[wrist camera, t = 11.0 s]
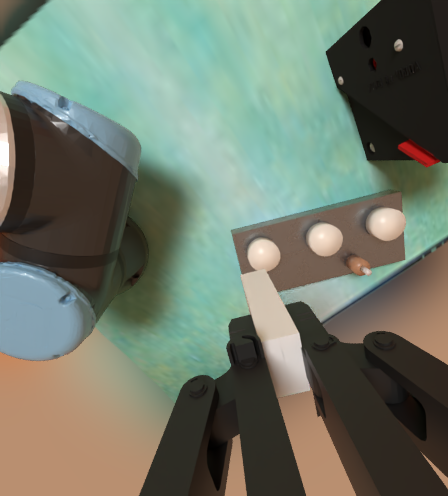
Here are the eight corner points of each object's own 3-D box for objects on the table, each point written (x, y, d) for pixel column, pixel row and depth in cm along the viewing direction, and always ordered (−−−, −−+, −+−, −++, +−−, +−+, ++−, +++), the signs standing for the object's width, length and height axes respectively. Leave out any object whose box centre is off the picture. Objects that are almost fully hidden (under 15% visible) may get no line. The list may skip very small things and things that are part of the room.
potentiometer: (346, 270, 49) (361, 282, 44) (344, 256, 48) (359, 267, 44) (361, 266, 49) (377, 278, 44) (359, 253, 48) (376, 263, 44)
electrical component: (415, 137, 46) (560, 120, 27) (356, 165, 47) (458, 168, 28) (386, 20, 41) (539, -101, 22) (321, 54, 42) (415, -35, 23)
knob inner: (247, 263, 51) (252, 275, 45) (241, 236, 49) (245, 245, 44) (275, 256, 50) (282, 267, 45) (269, 229, 49) (277, 237, 44)
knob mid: (302, 249, 50) (313, 259, 45) (298, 222, 49) (308, 229, 44) (330, 242, 50) (344, 252, 45) (326, 215, 49) (340, 221, 44)
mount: (245, 291, 53) (248, 298, 50) (230, 230, 49) (232, 234, 46) (394, 254, 52) (405, 259, 49) (389, 189, 49) (401, 191, 46)
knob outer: (357, 235, 50) (375, 244, 45) (354, 208, 49) (372, 213, 43) (385, 228, 50) (406, 236, 45) (383, 200, 49) (405, 205, 43)
